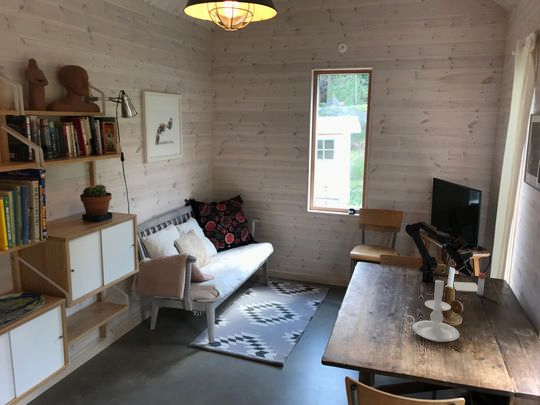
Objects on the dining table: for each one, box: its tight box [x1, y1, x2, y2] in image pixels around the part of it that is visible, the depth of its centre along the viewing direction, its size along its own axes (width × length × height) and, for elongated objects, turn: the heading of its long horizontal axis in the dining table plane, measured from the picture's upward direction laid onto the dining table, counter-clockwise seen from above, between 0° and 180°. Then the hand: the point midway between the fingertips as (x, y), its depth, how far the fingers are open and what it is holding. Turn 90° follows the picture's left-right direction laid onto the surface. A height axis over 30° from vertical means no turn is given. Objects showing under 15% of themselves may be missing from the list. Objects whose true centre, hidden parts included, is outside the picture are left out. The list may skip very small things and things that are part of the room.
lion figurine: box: [433, 262, 450, 276], centre depth 290 cm, size 15×5×9 cm, turn 71°
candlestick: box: [403, 279, 460, 343], centre depth 202 cm, size 21×25×28 cm
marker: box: [476, 272, 486, 297], centre depth 253 cm, size 4×4×13 cm
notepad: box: [453, 281, 485, 294], centre depth 266 cm, size 17×15×1 cm
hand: (472, 274), depth 255 cm, fingers open, 9 cm apart
